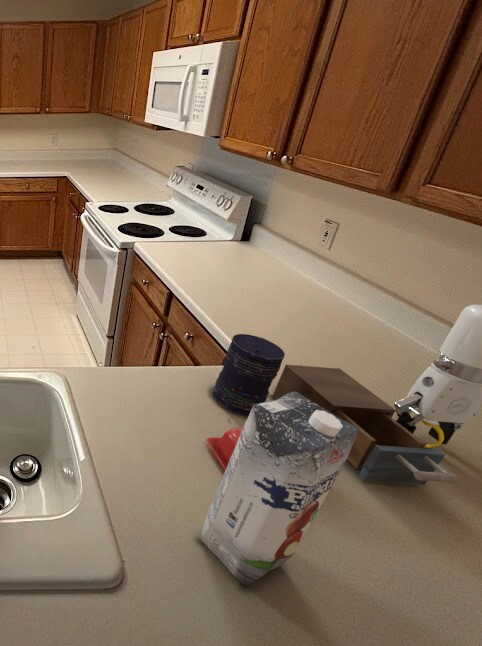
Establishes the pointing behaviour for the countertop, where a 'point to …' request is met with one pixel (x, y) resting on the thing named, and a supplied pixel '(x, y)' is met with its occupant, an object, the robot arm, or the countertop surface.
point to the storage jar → (247, 373)
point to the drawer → (391, 451)
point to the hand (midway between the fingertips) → (418, 437)
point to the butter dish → (224, 445)
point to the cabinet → (329, 389)
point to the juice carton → (275, 484)
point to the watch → (437, 428)
